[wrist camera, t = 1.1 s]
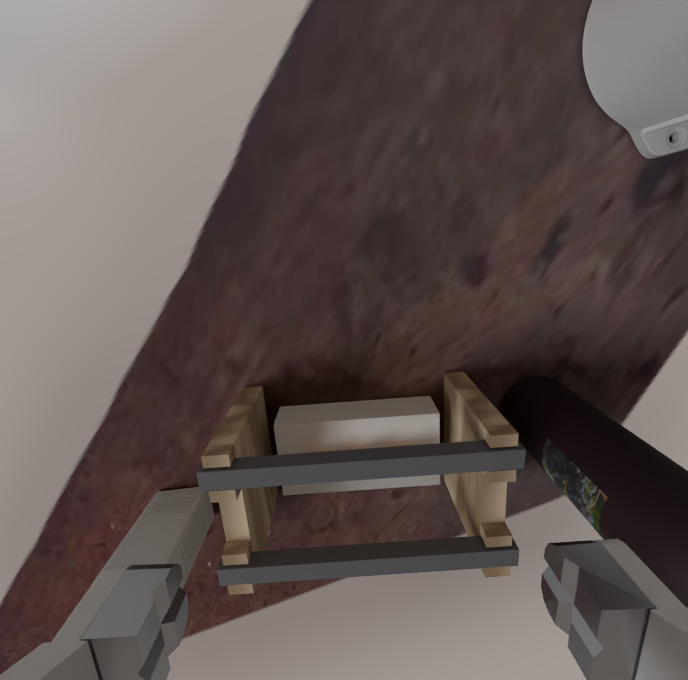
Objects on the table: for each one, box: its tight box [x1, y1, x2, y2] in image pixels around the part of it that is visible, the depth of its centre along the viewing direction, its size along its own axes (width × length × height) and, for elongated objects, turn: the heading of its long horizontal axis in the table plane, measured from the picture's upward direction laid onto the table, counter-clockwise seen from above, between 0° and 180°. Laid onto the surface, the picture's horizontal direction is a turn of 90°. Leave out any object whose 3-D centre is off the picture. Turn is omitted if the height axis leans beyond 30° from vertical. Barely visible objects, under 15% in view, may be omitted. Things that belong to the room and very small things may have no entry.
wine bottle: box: [502, 376, 688, 607], centre depth 26 cm, size 7×7×30 cm
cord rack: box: [201, 371, 519, 595], centre depth 35 cm, size 23×13×13 cm, turn 94°
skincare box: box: [94, 487, 214, 589], centre depth 37 cm, size 6×4×12 cm
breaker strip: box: [274, 396, 440, 495], centre depth 39 cm, size 16×8×4 cm, turn 94°
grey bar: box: [217, 536, 519, 586], centre depth 31 cm, size 24×2×2 cm, turn 94°
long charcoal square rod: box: [196, 440, 526, 491], centre depth 28 cm, size 24×2×2 cm, turn 94°
